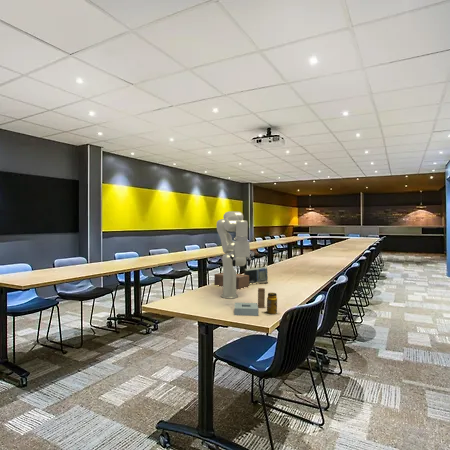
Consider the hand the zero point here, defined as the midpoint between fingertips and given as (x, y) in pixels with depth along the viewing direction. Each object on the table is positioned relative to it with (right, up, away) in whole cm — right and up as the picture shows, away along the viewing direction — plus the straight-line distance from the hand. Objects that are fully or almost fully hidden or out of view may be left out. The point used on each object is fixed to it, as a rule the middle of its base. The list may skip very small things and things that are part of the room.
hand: (241, 266), depth 216 cm
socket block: (+2, -26, -13) cm, 29 cm away
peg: (+13, -26, 0) cm, 29 cm away
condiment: (+17, -27, -14) cm, 34 cm away
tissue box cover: (-5, -26, +69) cm, 74 cm away
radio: (+17, -26, +82) cm, 88 cm away
